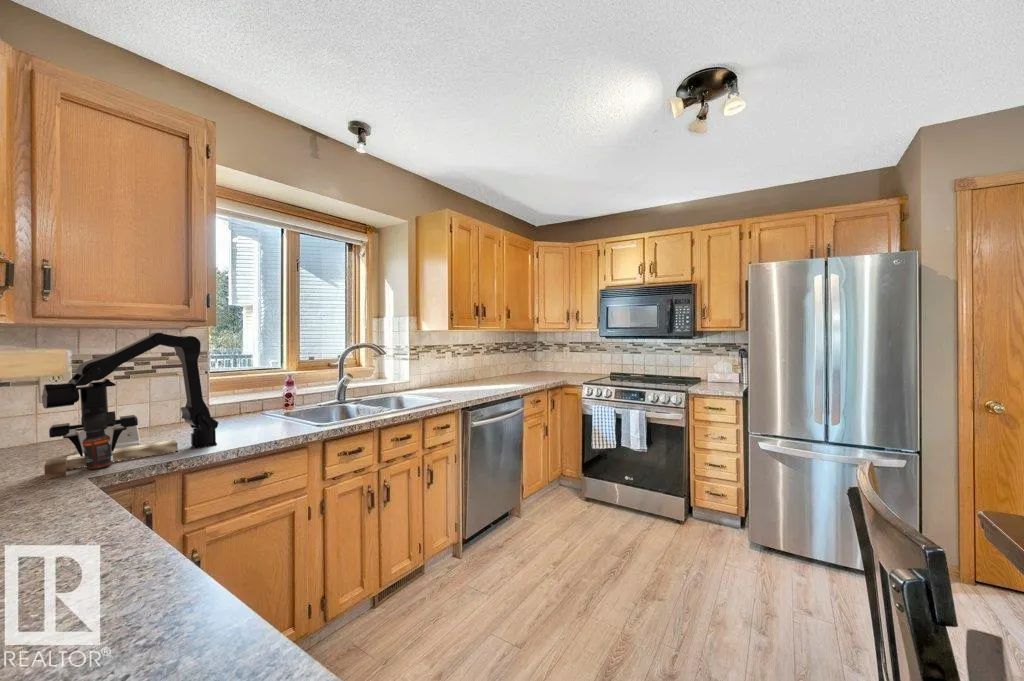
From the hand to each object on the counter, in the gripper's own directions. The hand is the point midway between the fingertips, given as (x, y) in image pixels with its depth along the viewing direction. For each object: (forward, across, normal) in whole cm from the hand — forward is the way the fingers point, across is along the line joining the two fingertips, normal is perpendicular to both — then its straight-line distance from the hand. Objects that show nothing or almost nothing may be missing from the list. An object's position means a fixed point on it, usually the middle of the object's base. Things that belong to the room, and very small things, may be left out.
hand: (97, 453), depth 127 cm
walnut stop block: (+4, -9, 0) cm, 10 cm away
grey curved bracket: (+5, +3, +25) cm, 25 cm away
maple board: (+4, +6, +6) cm, 10 cm away
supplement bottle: (+4, 0, 0) cm, 4 cm away
